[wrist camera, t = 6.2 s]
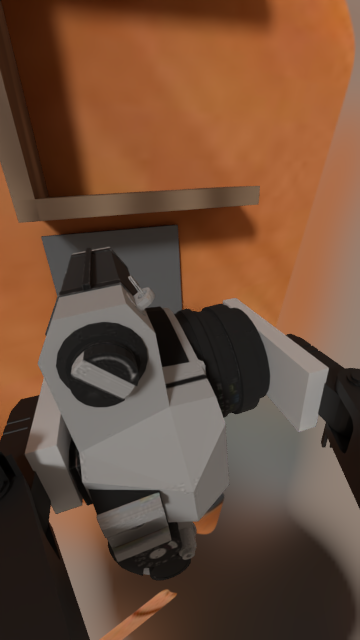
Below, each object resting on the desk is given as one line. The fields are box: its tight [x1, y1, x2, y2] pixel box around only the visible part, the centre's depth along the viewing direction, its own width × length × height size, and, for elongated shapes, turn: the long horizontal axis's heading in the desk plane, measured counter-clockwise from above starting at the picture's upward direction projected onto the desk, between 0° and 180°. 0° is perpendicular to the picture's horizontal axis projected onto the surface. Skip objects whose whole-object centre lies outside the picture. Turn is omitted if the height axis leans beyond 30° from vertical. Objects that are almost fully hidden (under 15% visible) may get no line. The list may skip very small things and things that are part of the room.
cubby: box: [0, 0, 260, 223], centre depth 21 cm, size 20×20×7 cm
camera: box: [38, 247, 270, 580], centre depth 11 cm, size 13×8×9 cm, turn 10°
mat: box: [41, 225, 182, 314], centre depth 31 cm, size 14×12×1 cm
